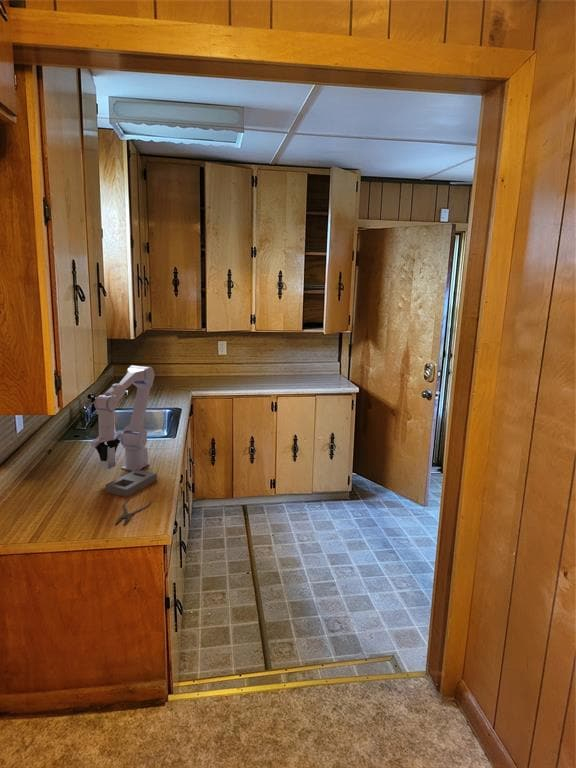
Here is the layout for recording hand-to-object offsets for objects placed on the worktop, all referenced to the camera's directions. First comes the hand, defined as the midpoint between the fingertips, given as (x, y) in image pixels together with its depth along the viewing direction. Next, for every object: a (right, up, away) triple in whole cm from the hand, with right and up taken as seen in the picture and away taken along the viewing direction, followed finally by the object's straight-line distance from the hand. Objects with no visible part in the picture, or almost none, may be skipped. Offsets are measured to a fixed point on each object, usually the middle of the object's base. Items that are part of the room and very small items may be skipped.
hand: (107, 458), depth 190 cm
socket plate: (+10, -11, 0) cm, 14 cm away
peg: (0, -3, +1) cm, 3 cm away
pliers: (+17, -16, -21) cm, 31 cm away
